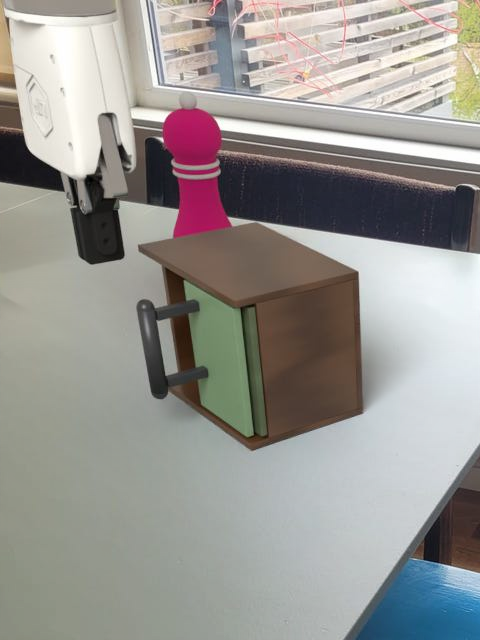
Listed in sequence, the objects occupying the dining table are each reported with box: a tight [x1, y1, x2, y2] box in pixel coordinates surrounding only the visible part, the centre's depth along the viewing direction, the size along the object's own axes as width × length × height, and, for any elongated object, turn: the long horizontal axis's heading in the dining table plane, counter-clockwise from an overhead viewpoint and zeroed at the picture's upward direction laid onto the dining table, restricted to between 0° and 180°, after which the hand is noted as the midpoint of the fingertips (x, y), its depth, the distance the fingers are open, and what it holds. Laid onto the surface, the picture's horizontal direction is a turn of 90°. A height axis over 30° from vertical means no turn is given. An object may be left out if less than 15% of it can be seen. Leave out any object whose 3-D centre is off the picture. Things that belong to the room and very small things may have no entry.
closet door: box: [135, 280, 254, 437], centre depth 83 cm, size 6×8×11 cm
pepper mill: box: [162, 90, 234, 238], centre depth 108 cm, size 7×7×20 cm
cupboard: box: [137, 221, 364, 451], centre depth 89 cm, size 12×16×13 cm
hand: (102, 258), depth 81 cm, fingers closed
